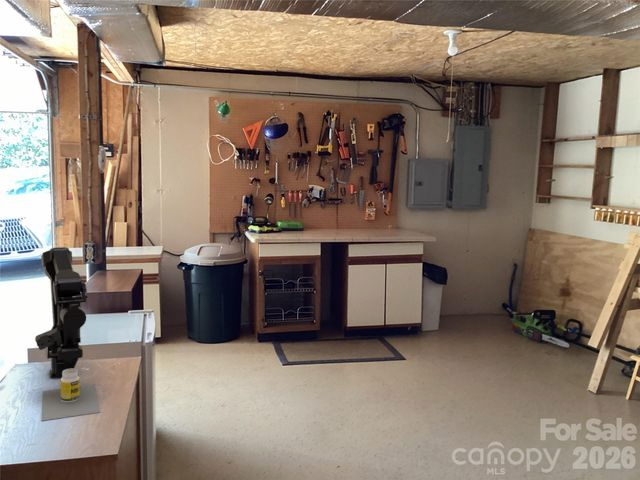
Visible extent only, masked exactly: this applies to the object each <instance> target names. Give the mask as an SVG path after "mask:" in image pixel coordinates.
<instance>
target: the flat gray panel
mask: <svg viewBox="0 0 640 480" xmlns="http://www.w3.org/2000/svg"><path fill="white" fill-rule="evenodd" d="M79 386H80V397H79V399H78V400H77V401H75V402H71V403H65V402H62V401H61V388H57V389H49V390H43V391H42V399H41V418H40V421H41V422H45V421H46V422H47V421H53V420H59V419H60V420H61V419H65V418H66V419H67V418H73V417H80V416H85V415H87V416H88V415H92V414H93V415H94V414H100V413H101V408H100V401H99V398H98V391H97V387H96V384H87V385H79Z"/></svg>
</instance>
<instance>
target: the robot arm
mask: <svg viewBox="0 0 640 480" xmlns="http://www.w3.org/2000/svg"><path fill="white" fill-rule="evenodd" d="M40 257H41V261H40V262H41V267H43V272H44V274H45V275H46V277H48V279H49V280H50V282H49V283H50V294H51V298H50V299H51V309H52V311H51V312H52V327H51V329H50V330H47V331H45V332H42V333H40V334H39V333H38V334H37V335H36V336H35V338H34V340H35V343H36V347H38V349H39V350H40V351H42V350H44V351H45V357H46V359H48V360H49V359H50V365H51V366H50V370H49V378H50V379H55V378H62V371H63V370H66V369H71V368H76V365H77V363H78V361H79V359H81V358H83V357H84V355H83V353H84V351H83V346H82V345H80V343H82V341H81V328H82V327H83V326H84V325H85V324H86V321H87V315H86V312H85V311H84V310H83V309H82V307H81V303H86V302H87V299H88V291H87V290H88V289H87V285H86V282H85V280H84V279H82V277H81V276H80V273H79V272H76V271H74V269H73V265H72V264H73V251H71V250H70V248H69V247H65V246H62V247H60V246H59V247H52V248H50V249H49V250H46V251H44V252H42V254H41V256H40Z"/></svg>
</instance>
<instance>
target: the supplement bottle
mask: <svg viewBox="0 0 640 480" xmlns="http://www.w3.org/2000/svg"><path fill="white" fill-rule="evenodd" d="M60 378H61V379H60V389H61V401H62V402H65V403H71V402H75V401H77V400H78V399H79V397H80V386H81V385H80V384H81V383H80V380H81V378H80V376H79V369H77V368H76V367H74V368H71V369H66V370H63V371H62V377H60Z"/></svg>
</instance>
